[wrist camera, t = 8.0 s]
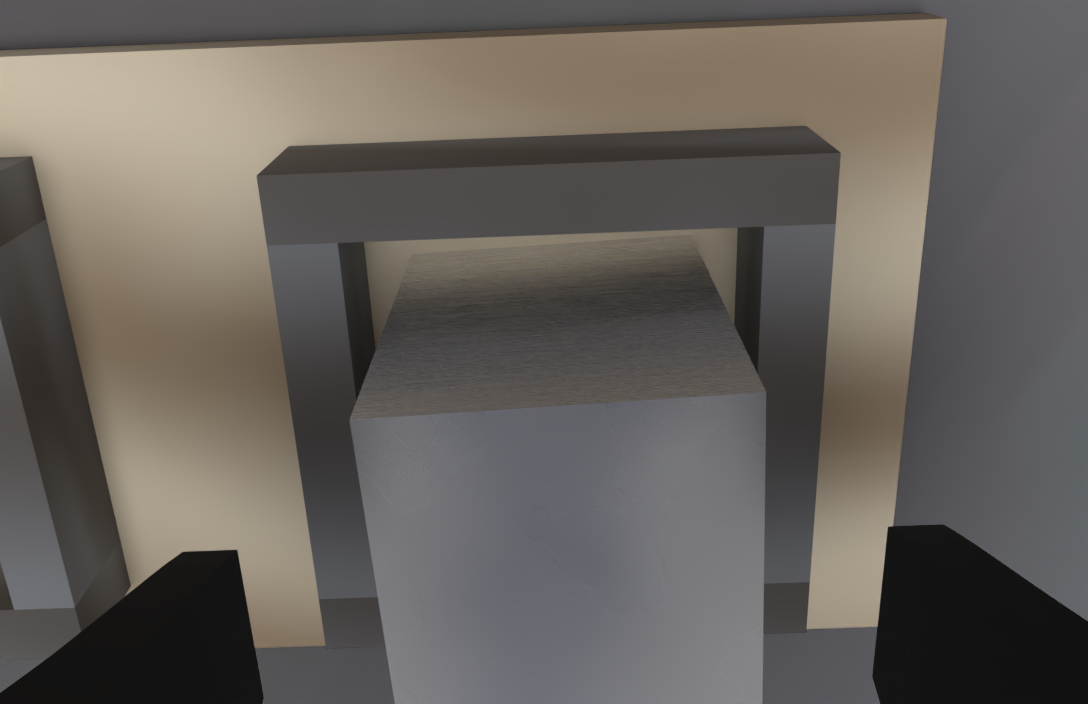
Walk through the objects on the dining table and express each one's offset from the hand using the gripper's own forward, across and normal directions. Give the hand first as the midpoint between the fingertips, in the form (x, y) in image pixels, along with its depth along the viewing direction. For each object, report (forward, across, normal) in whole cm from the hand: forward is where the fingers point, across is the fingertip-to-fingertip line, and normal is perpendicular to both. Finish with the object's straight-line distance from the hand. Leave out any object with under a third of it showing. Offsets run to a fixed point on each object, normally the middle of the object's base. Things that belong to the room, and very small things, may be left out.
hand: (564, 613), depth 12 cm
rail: (+8, +6, 0) cm, 10 cm away
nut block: (+7, 0, 0) cm, 7 cm away
